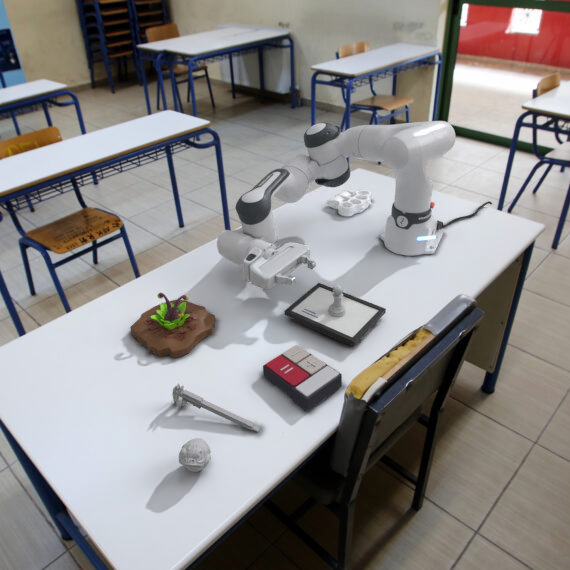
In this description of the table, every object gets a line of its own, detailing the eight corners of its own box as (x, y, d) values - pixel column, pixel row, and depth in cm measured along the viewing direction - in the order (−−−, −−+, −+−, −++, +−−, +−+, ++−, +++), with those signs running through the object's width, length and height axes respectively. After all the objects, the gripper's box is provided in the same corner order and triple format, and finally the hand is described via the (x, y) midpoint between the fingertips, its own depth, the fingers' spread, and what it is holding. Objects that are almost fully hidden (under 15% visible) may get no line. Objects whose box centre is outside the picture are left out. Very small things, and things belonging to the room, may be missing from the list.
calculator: (296, 341, 121) (342, 371, 111) (297, 355, 123) (342, 386, 113) (261, 363, 115) (306, 397, 105) (263, 377, 117) (307, 411, 107)
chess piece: (348, 315, 130) (350, 289, 125) (331, 318, 129) (332, 293, 124) (342, 304, 134) (343, 279, 129) (325, 308, 133) (326, 283, 128)
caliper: (174, 405, 110) (169, 384, 107) (177, 401, 111) (172, 381, 107) (258, 433, 103) (256, 412, 100) (260, 429, 104) (258, 408, 101)
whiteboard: (318, 292, 144) (318, 282, 142) (384, 318, 133) (386, 308, 131) (284, 320, 134) (284, 310, 132) (353, 352, 123) (354, 341, 121)
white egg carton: (346, 193, 199) (379, 202, 192) (322, 209, 188) (356, 220, 180) (347, 185, 197) (380, 193, 190) (322, 201, 186) (356, 211, 178)
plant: (174, 298, 143) (168, 265, 137) (226, 322, 134) (223, 288, 127) (119, 336, 130) (109, 302, 123) (172, 366, 120) (165, 330, 114)
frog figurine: (176, 481, 95) (170, 457, 91) (187, 450, 100) (183, 427, 96) (207, 485, 94) (202, 462, 90) (217, 454, 99) (213, 430, 95)
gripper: (286, 251, 148) (325, 266, 141) (240, 283, 135) (281, 301, 128) (286, 233, 145) (326, 246, 138) (239, 263, 131) (281, 280, 124)
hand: (304, 273), depth 133 cm, fingers open, 8 cm apart
